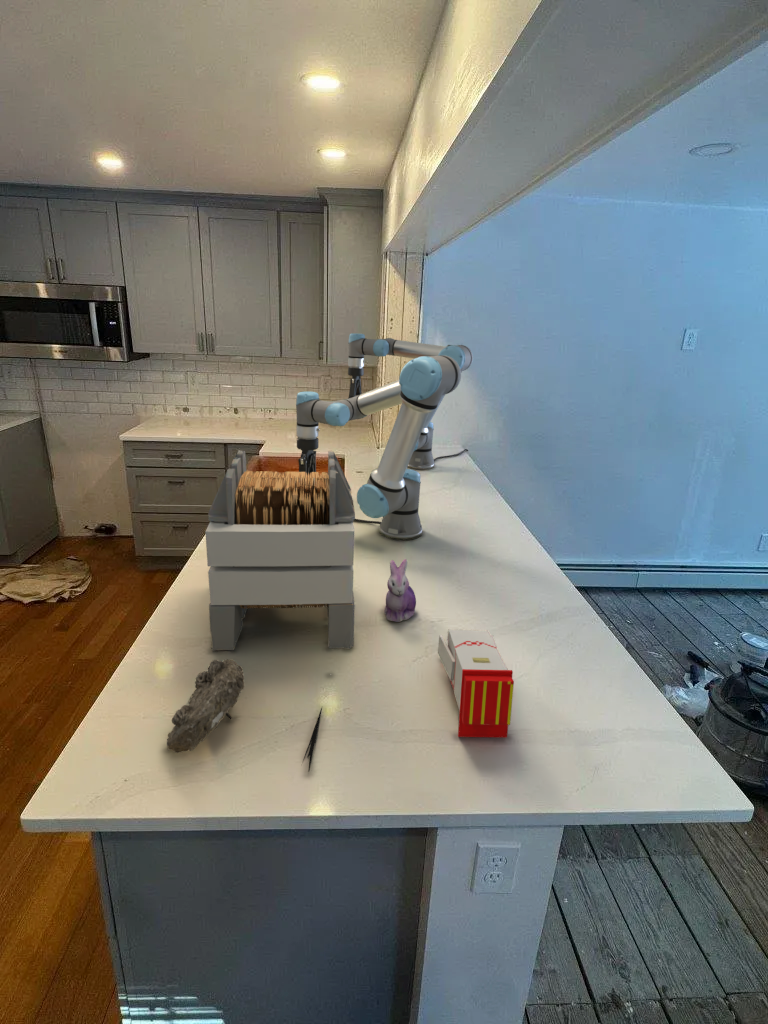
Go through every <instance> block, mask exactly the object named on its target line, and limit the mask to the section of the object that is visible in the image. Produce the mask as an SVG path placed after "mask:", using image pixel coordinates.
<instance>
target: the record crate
mask: <svg viewBox="0 0 768 1024" xmlns="http://www.w3.org/2000/svg"><path fill="white" fill-rule="evenodd" d="M327 456H328V457H327V462H328V463H327V471H322V472H321V473H320V472H319V471H316V472H312V473H310V475H309V473H308V475H307V473H306V472H299V471H284V472H283V471H281V472H278V471H271V470H269V471H267V470H265V471H262V470H261V471H259V470H258V471H257V470H256V471H253V470H247V458H246V450H240V449H238V450H237V452H236V454H235V456H234V457H233V459H232V462H231V464H230V466H229V468H227V470H226V472H225V474H224V477H223V479H222V480H221V483H220V486H219V487H218V490H217V491H216V495H215V496H214V499H213V501H212V503H211V504H210V505H211V506H210V508H209V510H208V513H207V517H208V522H209V523H208V525H207V527H206V529H205V533H204V534H205V548H206V558H207V559H206V563H207V567H209V569H208V571H207V574H208V575H207V577H208V589H209V604H208V615H209V630H210V634H211V647H210V649H211V651H212V652H214V651H215V652H218V651H234V649H235V647H236V645H237V643H238V641H239V638H240V635H241V633H242V630H243V619H245V618H246V614H247V609H249V610H250V609H273V608H274V609H276V608H277V609H280V608H281V609H293V608H294V609H296V608H298V609H302V608H309V609H310V608H315V609H316V608H327V637H328V638H327V639H328V640H327V641H328V649H349V650H350V649H352V648H353V647H354V646H355V645H354V643H355V607H356V606H355V597H354V559H355V558H354V555H355V526H354V525H355V524H354V522H355V521H354V520H355V519H356V511H355V505H354V499H353V493H352V487H351V486H350V484H349V481H348V479H347V477H346V475H345V473H344V471H343V469H342V467H341V464H340V462H339V459H338V458H337V455H336V453H335V452H334V451H330V450H329V451H327Z"/></svg>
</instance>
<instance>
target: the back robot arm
mask: <svg viewBox="0 0 768 1024" xmlns="http://www.w3.org/2000/svg"><path fill="white" fill-rule="evenodd" d="M439 355H445V356H449V357H451V358H453V359H454V360H455V361H456V362H457V363H458V365H459V367H460V370H461V374H462V373H463V372H465V371H466V370H468V369H469V368H470V367H471V366H472V364H473V361H474V354H473V352H472V350H471V348H469V346H466V345H463V344H457V345H455V344H454V345H453V344H447V345H446V346H444V345H437V344H430V343H429V344H428V343H422V342H416V341H407V340H402V339H394V338H391V337H387V338H366V335H365V333H356V332H355V333H354V332H353V333H349V335H348V357H347V366H348V368H347V375H348V376H351V378H350V380H349V391H348V398H347V399H349V398H352V397H355V396H358V395H361V394H363V393H362V381H361V380H362V379H361V378H362V377H363V376H364V374H365V372H364V371H365V369H364V366H365V363H366V360H365V356H372V357H378V358H379V357H386V356H394V357H399V358H407V359H415V358H418V357H422V356H429V357H430V356H439ZM445 396H446V394H445V395H442V396H441V398H440V401H439V403H438V405H437V408H436V410H434V411H431V412H429V414H428V417H427V419H426V422H425V424H424V427H423V429H422V431H421V434H420V436H419V439H418V441H417V444H416V446H415V449H414V451H413V454H412V456H411V459H410V461H409V464H408V466H407V469H411V470H417V471H419V470H422V471H424V470H426V471H427V470H431V469H434V468H435V461H437V460H438V459H444V458H445V459H446V458H452V457H456V456H460V455H461V454H463V453H465V452H469V450H468V449H467V448H465V449H463V450H462V451H460V452H458V453H454V454H449V455H442V456H438V457H435V458H434V455H433V440H434V430H435V429H434V423H433V422H432V419H433V417H434V416H435V414H436V412H437V410H438V408H439V407H440V405H441V404H442V402H443V400H444V398H445Z"/></svg>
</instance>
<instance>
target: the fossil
mask: <svg viewBox="0 0 768 1024" xmlns="http://www.w3.org/2000/svg"><path fill="white" fill-rule="evenodd" d="M243 670H244V669H243V667H242V665H240V664H237V662H236V661H235V660H234V659H232V658H231V659H227V658H226V659H224V660H223V661H222V660H217V659H212V660H211V661H210V663H209V665H208V666H207V671H201V672H199V673H198V674H197V675H196V676H195V680H194V684H195V685H194V687H195V689H194V690H193V693H192V694H191V697H190V698H189V700H188V704H184V705H182V706H181V707H180V709H177V710H176V711H175V713H174V715H173V716H172V718H171V723H172V724H173V727H172V730H171V731H170V732H168V734H167V738H166V741H167V742H166V745H167V749H168V750H169V751H173V752H174V753H176V754H178V753H182V752H188V751H189V752H192V751H193V750H195V748H196V747H197V746H199V744H200V743H201V742H203V741H204V740H205V739H206V738H207V737H208V736H209V735H210V734H211V733H212V732H214V730H215V729H217V727H218V726H219V724H220V722H221V721H222V720H223V719H224V718H225V716H226V717H227V719H229V720H233V717H232V715H230V714H229V710H230V709H231V708H234V706H235V704H236V703H237V702H238V699H239V697H240V695H241V693H242V691H243V690H245V689H244V688H245V675H244V671H243Z"/></svg>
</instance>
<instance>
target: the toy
mask: <svg viewBox="0 0 768 1024" xmlns="http://www.w3.org/2000/svg"><path fill="white" fill-rule="evenodd" d="M446 640H447V643H446V641H445V639H444V636H443V635H442V634H439V637H438V646H437V656H438V657H439V659H440V661H441V663H442V666H443V668H444V670H445V672H446V674H447V677H448V679H449V681H450V684H451V687H452V690H453V693H454V697H455V701H456V705H457V708H458V711H459V714H458V715H459V716H458V730H457V731H458V732H457V737H458V738H508V731H509V726H510V725H511V717H512V707H513V697H514V696H513V695H514V684H515V680H514V679H513V673H514V671H513V670H512V669H508V667H507V665H506V662H505V661H504V659H503V658H502V655H501V653H500V651H499V649H498V647H497V643H496V639H495V637H494V635H493V634H491V632H490V631H489V629H467V628H466V629H465V628H463V629H461V628H460V629H459V628H448V630H447V639H446Z"/></svg>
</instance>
